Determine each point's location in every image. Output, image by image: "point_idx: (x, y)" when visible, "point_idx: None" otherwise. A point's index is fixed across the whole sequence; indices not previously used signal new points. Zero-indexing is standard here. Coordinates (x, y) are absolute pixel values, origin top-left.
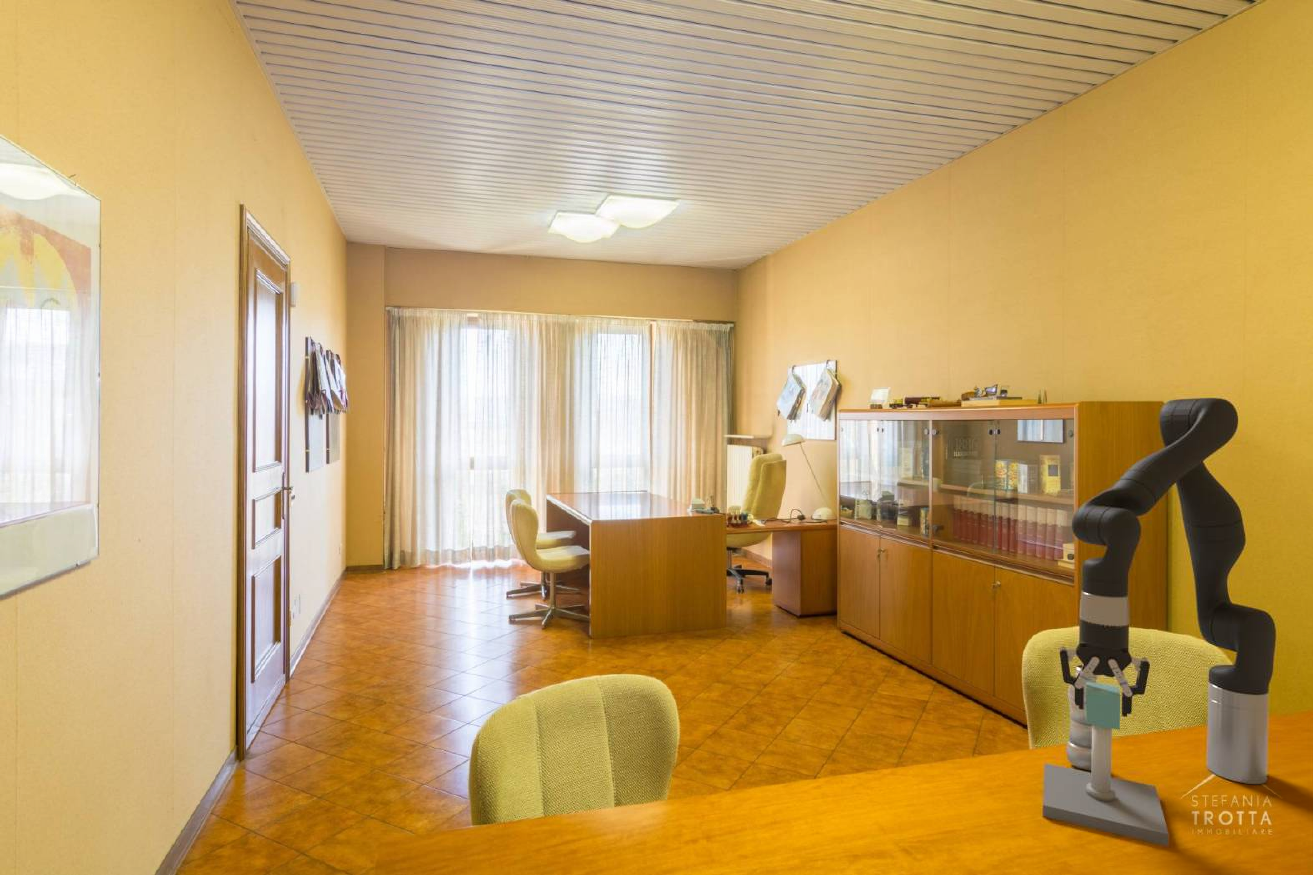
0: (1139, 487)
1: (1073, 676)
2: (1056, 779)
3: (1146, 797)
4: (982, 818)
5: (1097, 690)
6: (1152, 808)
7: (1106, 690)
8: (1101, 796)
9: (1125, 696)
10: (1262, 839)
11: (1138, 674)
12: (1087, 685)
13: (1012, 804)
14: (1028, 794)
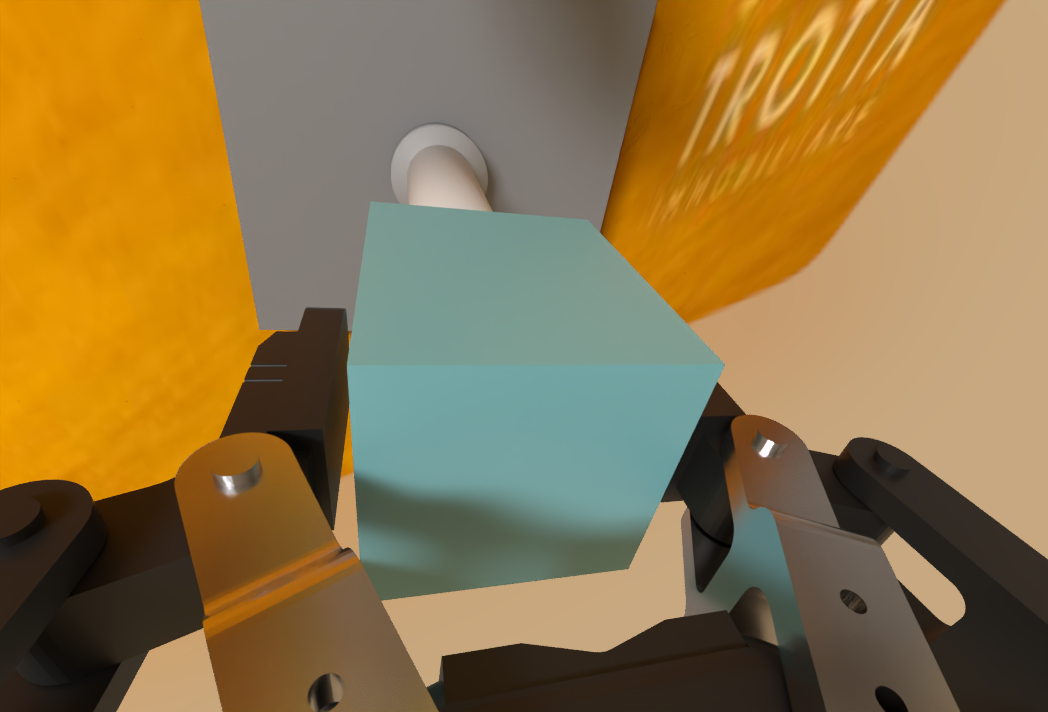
0: None
1: (140, 577)
2: (271, 88)
3: (591, 117)
4: (111, 395)
5: (463, 559)
6: (583, 200)
7: (549, 524)
8: None
9: (678, 500)
10: (807, 180)
11: (988, 677)
12: (369, 491)
13: (160, 277)
14: (188, 175)
